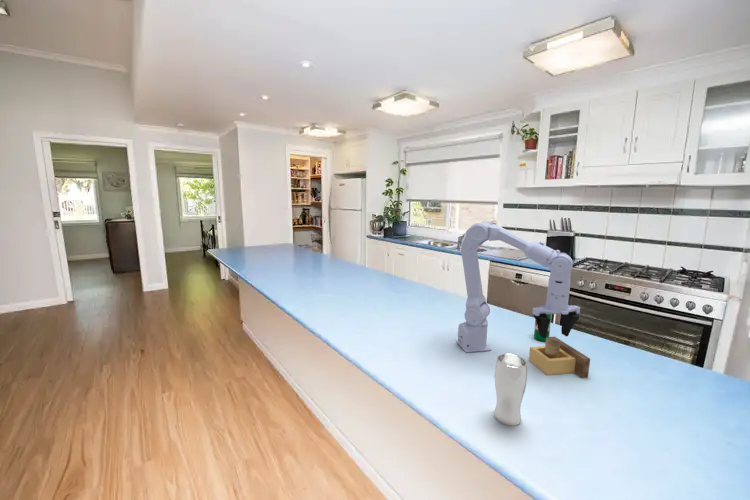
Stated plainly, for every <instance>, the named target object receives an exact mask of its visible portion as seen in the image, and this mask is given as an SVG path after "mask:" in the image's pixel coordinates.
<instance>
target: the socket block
mask: <svg viewBox="0 0 750 500" xmlns="http://www.w3.org/2000/svg"><path fill="white" fill-rule="evenodd" d="M544 354H545V345H540V346H530V347H529V357H528V361H530V362H531V363H532V364H533V365H535V367H536V368H538V369H540V371H542V372H543V373H544V374H545V375H547V376H549V375H551V376H552V375H561V374H562V375H563V374H574V370H575V362H576V359H575V358H574V357H572V356H571V355H569V354H568V353H566V352H565V351H563V350H562V349H560V353H559V358H551V359H550V358H548V357H547V356H545V355H544Z"/></svg>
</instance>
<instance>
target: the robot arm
mask: <svg viewBox="0 0 750 500" xmlns="http://www.w3.org/2000/svg"><path fill="white" fill-rule="evenodd" d="M487 241H489V242H492V241H494V242H495V241H501V242H502V243H505V244H507V245H510V246H511V247H514V248H515V249H518V250H519V251H523V253H524V255H525V258H527V259H529V260H531V261H533V262H535V263H537V264H539V265H540V266H542V267H545V268H548V269H549V271H550V273H549V277H548V284H547V294H546V303H545V305H540V306H538V307H532V316H533V317H534V321H535V320H536V322H537V325H538V329H539V335H540V336H541V337H543V338H546V335H547V328H548V325H549V322H550V320H551V321H552V318H551V319H550V318H548V317H547V316H546V314H551V315H560V316H561V335H563V336H565V337H568V336H569V335H570V332H571V331H572V328H573V327H574V325H576V323H577V322H578V321H579V319H580V315H579V314H580V313H581V307H580V306H578V305H571V304H570V305H569V299H570V290H571V281H572V280H571V277H572V273H571V272H572V270H573V265H574V262H573V259H572V258H571V256H570V255H568V254H567V253H566V252H561V250H560V249H556V250H555V249H553V248H552V247H549V246H547V245H545V244H546V243H545V242H544V241H541V240H540V241H538V240H537V241H536V240H535V241H531V242H530V241H528V240H526V239H524V238H522V237H520V236H518V235H516V234H515V233H513V232H511V231H510V230H507V229H505V228H504V227H502V226H499V225H498V224H495V223H494V224H493V223H492V222H491V221H486V220H485V221H481V222H477V223H474V224H472V225H471V226H470V227H469V228H468V229H467V230H466V231H465V236H464V237H463V240H462V243H461V245H460V251H461V259H462V265H463V266H462V267H463V274H464V280H465V287H466V295H467V298H466V303H465V312H464V319H465V321H464V322H460V323H459V325H458V328H457V329H458V330H457V341H456V343H457V344H458V345H459V347H460V348H461V349H462V350H463V351H464V352H465V353H471V352H472V353H473V352H475V353H476V352H485V351H489V352H490V351H491V350H492V348H491V347H490V346H488V344H487V340H488V325H489V323H488V319H487V317H488V316H489V315H490V313H491V308H490V306H489V304H488V303H487V298H486V296H485V295H484V291H483V285H482V279H481V271H480V263H479V256H478V250H479V249H480V247H481V246H483V245H484V243H485V242H487Z"/></svg>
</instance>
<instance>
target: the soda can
mask: <svg viewBox="0 0 750 500" xmlns="http://www.w3.org/2000/svg"><path fill="white" fill-rule="evenodd" d="M546 316H547V317H548V318H550V319H551V320H550V322H549V325H548V328H547V335H546V338H549V337H550V332H551V323H552V314H546ZM533 330H534V331H533V337H534V340H536V341H539V342H546V338H543V337H541V336H540V335H539V329H538V325H537V322H536V320H535V319H534V329H533Z"/></svg>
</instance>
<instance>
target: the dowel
mask: <svg viewBox="0 0 750 500" xmlns="http://www.w3.org/2000/svg"><path fill="white" fill-rule="evenodd" d="M558 339H559V338H558ZM558 339H555V338H546V341H545V344H544V346H545V354H544V355H545V356H547V357H548V358H550V359H551V358H559V353H560V343H561V341H562V340H561V339H560V340H561V341H560V340H558Z"/></svg>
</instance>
